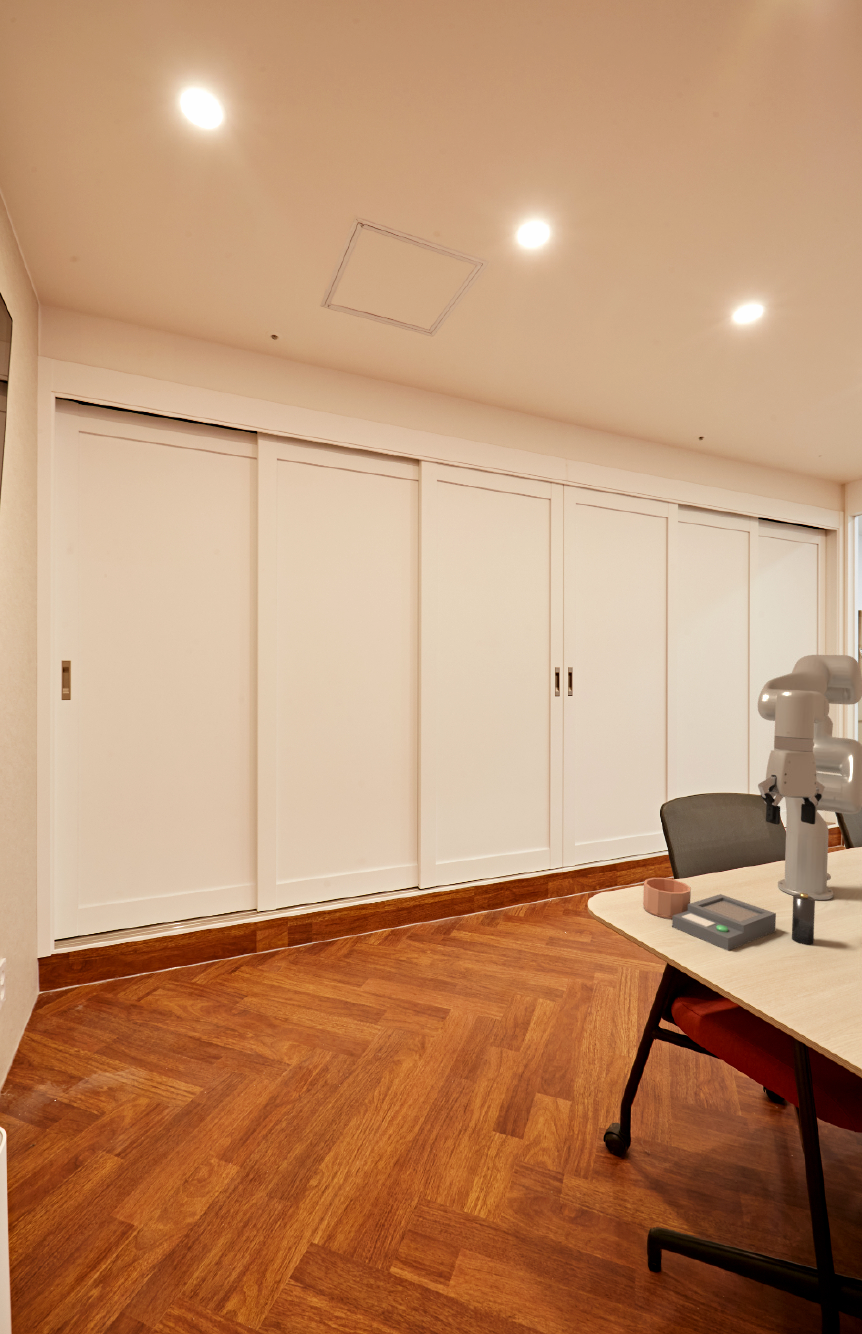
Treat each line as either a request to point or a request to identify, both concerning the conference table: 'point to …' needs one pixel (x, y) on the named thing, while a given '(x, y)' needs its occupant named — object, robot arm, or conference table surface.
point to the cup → (665, 897)
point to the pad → (731, 910)
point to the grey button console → (724, 923)
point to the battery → (803, 919)
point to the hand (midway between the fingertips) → (790, 823)
